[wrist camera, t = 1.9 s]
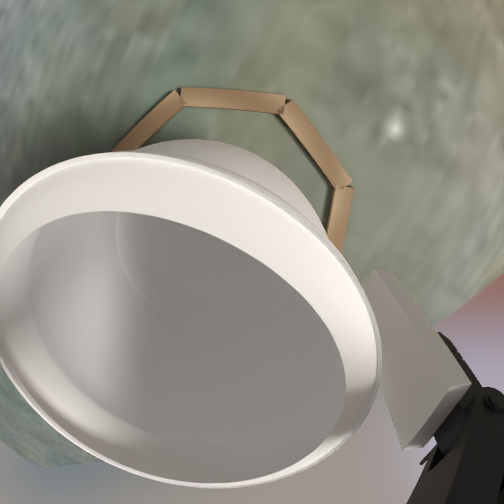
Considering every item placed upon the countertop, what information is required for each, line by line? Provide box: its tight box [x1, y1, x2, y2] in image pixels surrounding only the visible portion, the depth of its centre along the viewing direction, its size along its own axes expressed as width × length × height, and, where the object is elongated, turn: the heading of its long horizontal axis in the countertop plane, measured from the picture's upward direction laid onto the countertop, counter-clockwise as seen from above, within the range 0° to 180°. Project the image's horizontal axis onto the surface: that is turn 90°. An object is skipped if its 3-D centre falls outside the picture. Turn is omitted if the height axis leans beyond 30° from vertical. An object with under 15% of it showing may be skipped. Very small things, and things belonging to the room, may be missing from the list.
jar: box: [0, 139, 382, 488], centre depth 13 cm, size 11×10×15 cm
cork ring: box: [111, 87, 354, 253], centre depth 20 cm, size 16×16×1 cm
